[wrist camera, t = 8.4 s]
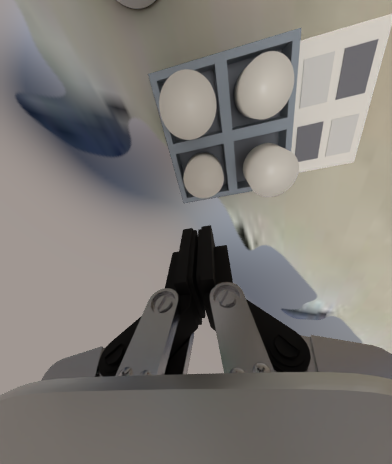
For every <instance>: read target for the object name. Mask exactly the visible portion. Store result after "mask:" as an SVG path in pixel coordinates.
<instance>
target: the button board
mask: <svg viewBox="0 0 392 464" xmlns="http://www.w3.org/2000/svg"><path fill="white" fill-rule="evenodd" d="M300 39H301V28H298V29H295V30H292V31H289V32H285V33H282V34H279V35H275V36H272V37H269V38H266V39H262V40H259V41H256V42H252V43H249V44H246V45H243V46H239V47H236V48H233V49H229V50H226V51H223V52H219V53H216V54H213V55H210V56H206V57H203V58H200V59H196V60H193V61H190V62H187V63H183V64H180V65H177V66H173V67H170V68H167V69H164V70H160V71H157V72H154V73H150V74H148V76H149V79H150V83H151V87H152V90H153V94H154V98H155V101H156V105H157V108H158V112H159V116H160V119H161V123H162V127H163V130H164V134H165V138H166V141H167V145H168V149H169V152H170V156H171V159H172V163H173V167H174V170H175V174H176V178H177V181H178V185H179V188H180V192H181V196H182V199H183V203H188V202H193V201H199V200H205V199H210V198H216V197H221V196H227V195H233V194H238V193H244V192H249V191H253V190H252V189H251V187H250V185H249V184H248V182H247V180H246V179H245V177H244V174H243V164H244V161H245V158H246V156H247V155H248V154H249V152H250V151H251V150H252V149H254V148H255V147H257V146H258V145H261V144H264V143H273V144H276V145H278V146H280V147H282V148H285V149H287V150H289V151H291V147H292V135H293V123H294V111H295V99H296V87H297V75H298V63H299V51H300ZM268 51H278V52H281V53H283V54H284V55H285V56H287V57H288V59H289V60H290V62H291V64H292V66H293V70H294V86H293V90H292V93H291V96H290V98H289V100H288V101H287V103H286V105H285V106H284V107H283V108H282V109H281V110H280V111H279V112H278V113H277V114H276V115H274V116H272V117H270V118H267V119H260V120H259V119H253V118H248V117H245V116H244V115H242V114H241V113H240V112H239V110H238V109H237V107H236V104H235V99H234V91H235V85H236V82H237V80H238V78H239V76H240V74H241V73H242V71H243V70H244V69H245V68H246V67H247V66H248V65H249V64H250V63H251V62H252V61H253V60H254V59H255V58H256V57H257V56H259V55H260V54H262V53H265V52H268ZM184 69H190V70H194V71H197V72H199V73H201V74H202V75H203V76H204V77H205V78H206V79H207V80H208V81H209V82H210V84H211V86H212V88H213V90H214V93H215V97H216V114H215V118H214V121H213V123H212V125H211V127H210V128H209V130H208V131H207V132H206V133H205V134H204V135H202V136H201V137H199V138H196V139H192V140H185V139H181V138H178V137H176V136H175V135H173V134H172V133H171V132H170V131H169V130H168V129H167V128H166V126H165V124H164V123H163V120H162V118H161V115H160V110H159V98H160V93H161V90H162V87H163V85H164V83H165V82H166V80H167V79H168V78H169V77H170V76H171V75H172V74H174V73H175V72H177V71H180V70H184ZM201 152H207V153H210V154H213V155H214V156H215V157H216V158H217V159H218V160H219V162H220V164H221V167H222V171H223V174H224V182H223V185H222V187H221V189H220V191H219V192H218V193H217V194H215V195H214V196H212V197H209V198H198V197H195V196H193V195H192V194H190V193H189V192H188V191H187V189H186V187H185V185H184V180H183V177H184V172H185V169H186V166H187V163H188V161H189V160H190V159H191V157H193V156H194V155H195V154H198V153H201Z"/></svg>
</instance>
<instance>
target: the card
mask: <svg viewBox="0 0 392 464" xmlns="http://www.w3.org/2000/svg"><path fill="white" fill-rule="evenodd" d="M391 26H392V14H389V15H385V16H382V17H379V18H375V19H372V20H368V21H365V22H362V23H358V24H355V25H351V26H348V27H345V28H341V29H338V30H334V31H331V32H328V33H324V34H321V35H317V36H314V37H311V38H307V39H304V40H300V51H299V63H298V75H297V87H296V99H295V111H294V123H293V135H292V147H291V152H292V153H293V154H294V155H295V156H296V158H297V160H298V163H299V172H305V171H310V170H315V169H321V168H326V167H331V166H337V165H342V164H347V163H353V162H354V160H355V156H356V153H357V149H358V145H359V142H360V138H361V135H362V131H363V127H364V124H365V120H366V116H367V113H368V109H369V106H370V102H371V98H372V95H373V91H374V87H375V84H376V80H377V77H378V73H379V69H380V66H381V62H382V59H383V55H384V51H385V48H386V44H387V40H388V37H389V33H390V30H391ZM299 172H298V173H299Z"/></svg>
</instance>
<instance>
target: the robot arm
mask: <svg viewBox="0 0 392 464" xmlns="http://www.w3.org/2000/svg"><path fill="white" fill-rule="evenodd" d="M205 310H206V313H207V316H208V319H209V323H210V326H211V327H212V328H213V329H214V330H215V331H216V333H217V339H218V343H219V349H220V354H221V359H222V364H223V368H224V373H221V374H187V371H188V366H189V360H190V355H191V350H192V344H193V339H194V331H195V330H196V329H197V328H198V325H201V324H202V318H205ZM0 464H392V354H391V353H389V352H387V351H385V350H384V349H382V348H379V347H376V346H373V345H367V344H362V343H356V342H350V341H343V340H338V339H332V338H326V337H320V336H314V335H311V336H310V337H306V336H301V335H299V334H297V333H296V332H295V331H294V330H292V329H291V328H289V327H288V326H286V325H285V324H283V323H282V322H280V321H279V320H277V319H275V318H274V317H272V316H271V315H269V314H268V313H266V312H265V311H263V310H262V309H260V308H259V307H257V306H256V305H254V304H253V303H251V302H250V301H248V300H246V298H245V296H244V294H243V291H242V290H241V288H240V287H239V286H238V285H236V284H234V283H233V282H232V275H231V269H230V262H229V256H228V250H227V245H224V246H217V247H215V244H214V239H213V233H212V229H211V226H204V227H202V229H200V230H199V231H198V235H197V231H196V230H193V229H192V228H190V229H184V230H183V234H182V239H181V244H180V250H179V252H174V253H173V255H172V258H171V263H170V267H169V272H168V276H167V281H166V286H165V289H161V290H159V291H157V292H156V293H154V294H153V295H152V296H151V298H150V299H149V301H148V304H147V306H146V308H145V310H144V313H143V315H142V316H141V317H140V318H139V319H138V320H136V321H135V322H134V323H133V324H132V325H131V326H129V327H128V328H127V329H126V330H125V331H124V332H122V333H121V334H120V335H119V336H118V337H117V338H115V339H114V340H113V341H112V342H111V343H110V344H109V345H108V346H107V347H106V348H103V347H99V348H95V349H92V350H89V351H86V352H83V353H80V354H77V355H73V356H70V357H67V358H64V359H62V360H60V361H58V362H56V363H55V364H54V365H52V366H51V367H50V368H49V370H48V371H47V372H46V373H45V375H44V377H43V378H42V380H41V381H38V382H33V383H29V384H26V385H23V386H20V387H17V388H15V389H13V390H11V391H8V392H7V393H4V394H2V395H0Z"/></svg>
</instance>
